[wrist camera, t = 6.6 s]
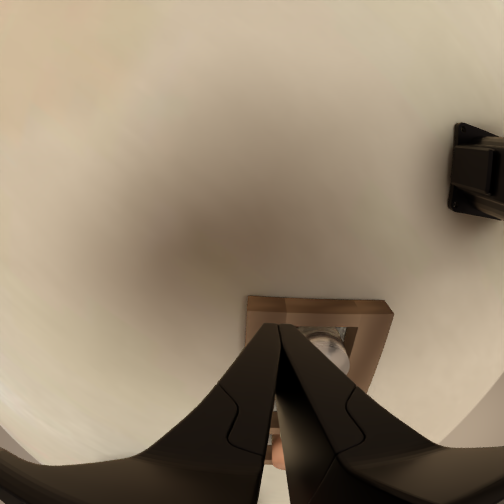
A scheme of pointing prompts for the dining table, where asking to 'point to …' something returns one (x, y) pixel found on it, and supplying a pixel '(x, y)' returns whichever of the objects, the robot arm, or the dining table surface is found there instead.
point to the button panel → (328, 315)
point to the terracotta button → (277, 452)
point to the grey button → (328, 344)
